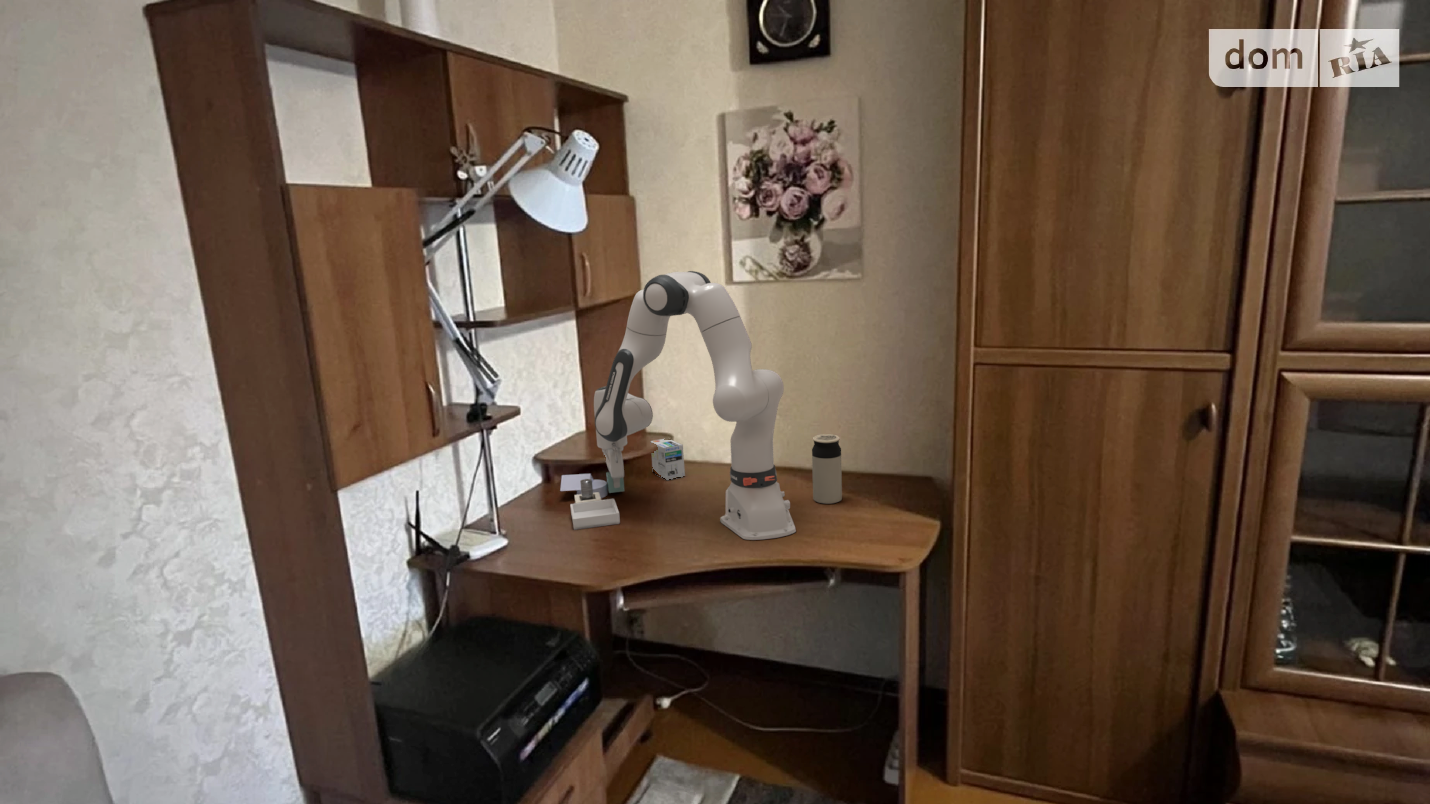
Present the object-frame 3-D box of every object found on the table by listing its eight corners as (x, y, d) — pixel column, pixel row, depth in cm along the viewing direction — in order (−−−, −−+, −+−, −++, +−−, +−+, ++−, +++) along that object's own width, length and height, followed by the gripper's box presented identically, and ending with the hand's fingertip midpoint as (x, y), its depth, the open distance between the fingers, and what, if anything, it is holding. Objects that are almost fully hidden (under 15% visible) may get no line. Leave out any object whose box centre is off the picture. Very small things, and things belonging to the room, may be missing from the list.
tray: (620, 523, 207) (619, 513, 206) (573, 529, 204) (572, 519, 204) (614, 508, 219) (614, 498, 218) (571, 514, 216) (570, 504, 215)
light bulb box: (685, 477, 244) (683, 443, 241) (666, 481, 241) (664, 447, 238) (670, 469, 253) (668, 437, 251) (651, 473, 250) (649, 440, 247)
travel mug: (847, 501, 215) (846, 438, 211) (822, 506, 212) (820, 443, 208) (832, 493, 222) (831, 432, 218) (808, 497, 219) (806, 436, 215)
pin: (594, 508, 220) (592, 481, 218) (583, 510, 219) (580, 483, 217) (593, 504, 223) (591, 478, 221) (582, 506, 222) (579, 479, 220)
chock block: (624, 491, 229) (623, 474, 228) (609, 493, 228) (607, 476, 227) (622, 486, 234) (621, 470, 233) (607, 488, 233) (606, 472, 232)
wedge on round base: (561, 501, 227) (605, 499, 227) (559, 480, 225) (603, 477, 226) (566, 491, 236) (609, 489, 236) (564, 470, 234) (607, 468, 234)
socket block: (602, 509, 218) (601, 499, 218) (576, 513, 217) (575, 503, 216) (599, 501, 225) (598, 492, 224) (575, 505, 223) (574, 495, 223)
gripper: (627, 447, 219) (630, 493, 221) (618, 430, 238) (622, 473, 241) (604, 449, 217) (608, 496, 220) (598, 432, 237) (601, 475, 240)
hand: (615, 484), depth 231 cm, fingers closed on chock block, 4 cm apart
